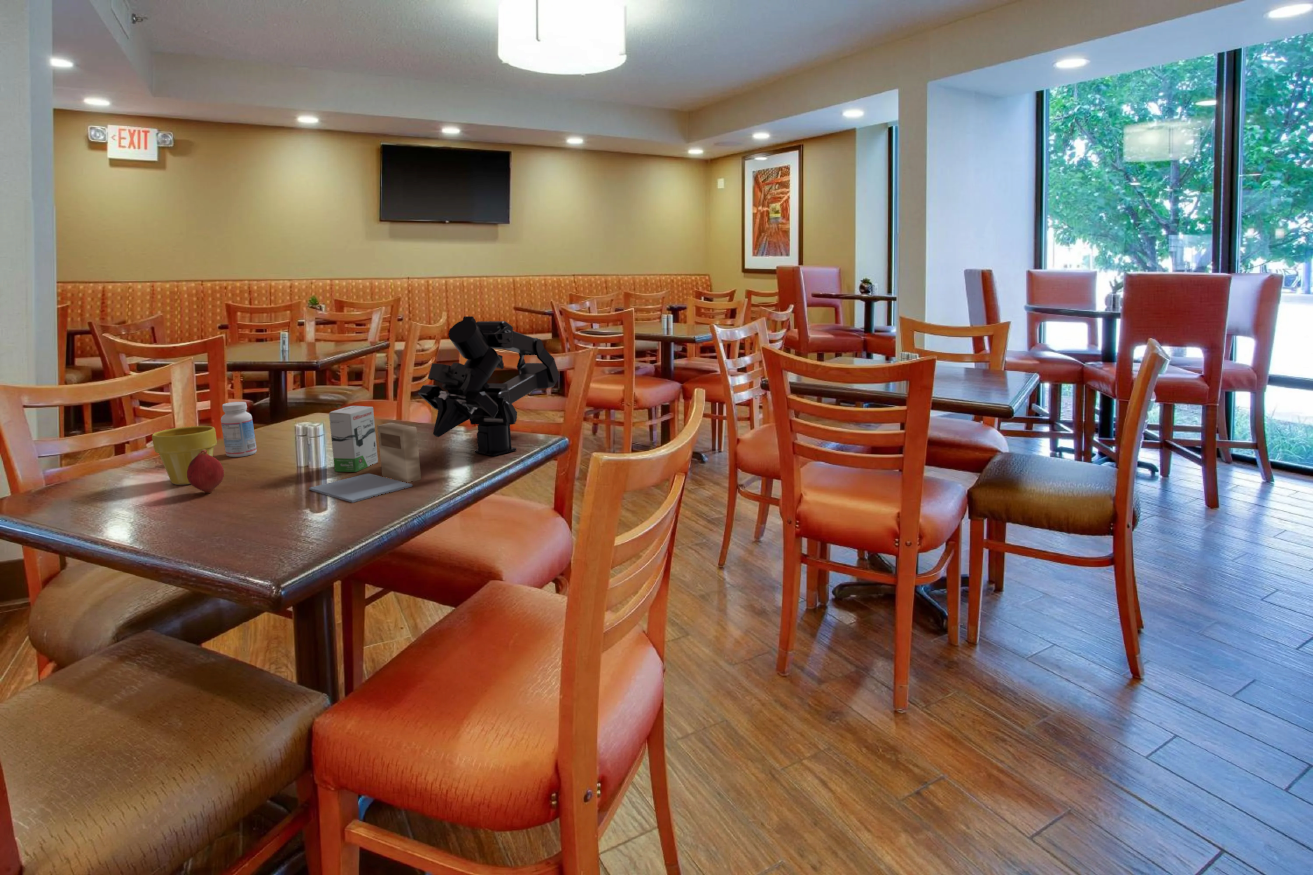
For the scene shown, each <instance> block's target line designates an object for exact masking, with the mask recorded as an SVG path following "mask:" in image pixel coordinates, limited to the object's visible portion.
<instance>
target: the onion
mask: <svg viewBox="0 0 1313 875" xmlns="http://www.w3.org/2000/svg"><path fill="white" fill-rule="evenodd" d="M187 478H188V481H189V483H190V484H189V485H191V486H192V487H193V488H195V489H198V490H200V491H202V492H205V493H206V494H210V493H212V492H213V491H215V489H216V488H217V487H218V486H219V485H220V484H221V483H222V481H223V480H224V478H225V469H224V467H223V464H222V463H221V461H220V460H219V459H217V458H216V457H214V456H213V457H212V456H210V455H208V454H207V451H206V449H205V450H201V452H200V453H199V454H198V455H197V456H196V457H195V458H194V459H193V460H192V461H191V462H190V464H189V466H188V470H187Z"/></svg>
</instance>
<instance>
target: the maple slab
mask: <svg viewBox="0 0 1313 875" xmlns="http://www.w3.org/2000/svg"><path fill="white" fill-rule="evenodd" d="M376 426H377V437H378V448H379V456H380V457H379V458H380V466H381V477H382V476H383V477H385V478H386V477H387V478H389V479H390V478H392V479H393V480H394V479H395V480H397V481H401V482H402V481H403V482H405V483H406V482H407V483H408V482H409V483H412V482H411V481H413V482H416V481H419V480H422V475H421V474H422V472H421V464H420V453H419V451H420V450H419V443H418V441H419V440H418V431H417V427H416V426H412V425H406V424H401V423H394V422H388V423H383V424H377V425H376Z"/></svg>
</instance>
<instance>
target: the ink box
mask: <svg viewBox="0 0 1313 875" xmlns="http://www.w3.org/2000/svg"><path fill="white" fill-rule="evenodd" d="M374 415H375V414H374V406H366V405H365V406H363V405H350V406H349V405H348V406H346V407H343V408H339V409H335V410H332V411H330V412H329V413H328V420H329V427H330V435H331V436H330V437H331V445H332V446H331V447H332V457H333V466H334V471H335V472H338V473H339V472H340V473H343V472H344V473H345V472H347V473H350V472H351V473H358V472H359V471H362V470H364V469H366V468H368V467H371V466H373V465H375V464H377V463H379V456H378V447H377V436H376V427H375V416H374ZM372 464H373V465H372ZM370 465H371V466H370Z"/></svg>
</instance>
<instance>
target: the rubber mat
mask: <svg viewBox="0 0 1313 875" xmlns="http://www.w3.org/2000/svg"><path fill="white" fill-rule="evenodd" d="M411 487H413V484H412V483H410V482H409V483H406V482H402V481H398V480H394V479H390V478H386V477H382V475H381V476H380V475H378V474H374V473H369V472H367V473H364V474H360V475H356V476H351V477H347V478H343V479H339V480H335V481H331V482H327V483H323V484H320V485H315V486H310V487H309V491H312V492H315V493H318V494H322V495H326V496H330V497H332V498H335V499H338V500H339V499H340V500H342V501H346V502H349V503H355V502H360V501H364V500H366V499H371V497H372V498H374V497H373V496H375V497H378V495H379V496H382V495H381V494H383V495H386V494H389V492H390V493H392V492H397V491H401V490H404V488H405V489H407V488H411ZM385 493H386V494H385Z"/></svg>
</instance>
